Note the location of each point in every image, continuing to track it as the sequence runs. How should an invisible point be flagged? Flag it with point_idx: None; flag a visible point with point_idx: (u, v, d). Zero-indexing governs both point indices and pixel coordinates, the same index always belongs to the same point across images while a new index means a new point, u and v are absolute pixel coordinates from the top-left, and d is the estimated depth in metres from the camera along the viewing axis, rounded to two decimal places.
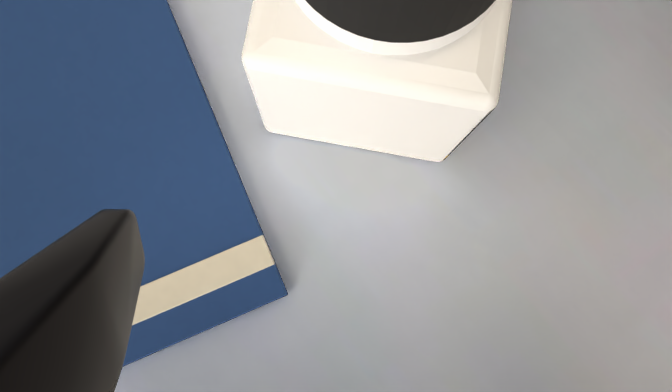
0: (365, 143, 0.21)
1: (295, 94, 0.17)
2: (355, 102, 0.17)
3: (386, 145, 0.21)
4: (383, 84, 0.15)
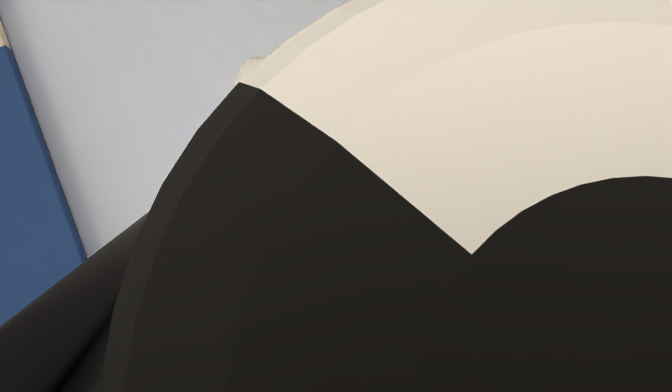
0: None
1: None
2: None
3: None
4: None
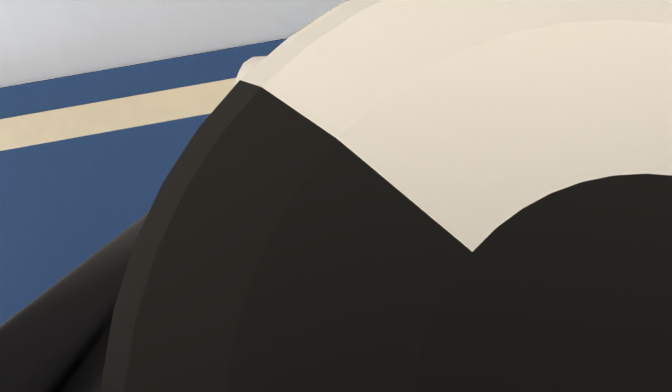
0: None
1: None
2: None
3: None
4: None
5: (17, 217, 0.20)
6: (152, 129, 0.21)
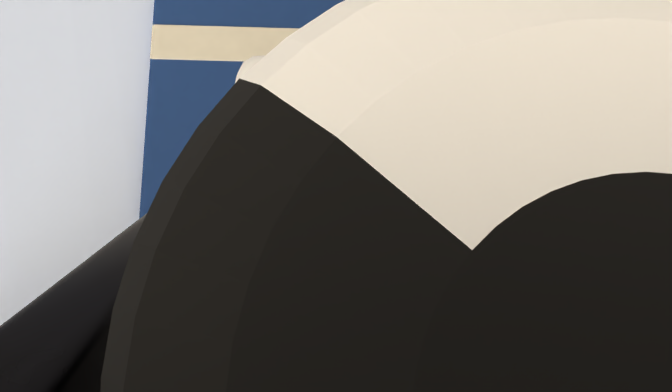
0: None
1: None
2: None
3: None
4: None
5: None
6: None
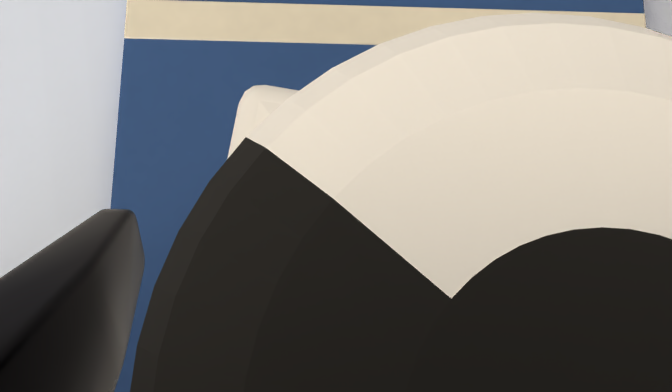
0: None
1: None
2: None
3: None
4: None
5: (217, 127, 0.16)
6: None
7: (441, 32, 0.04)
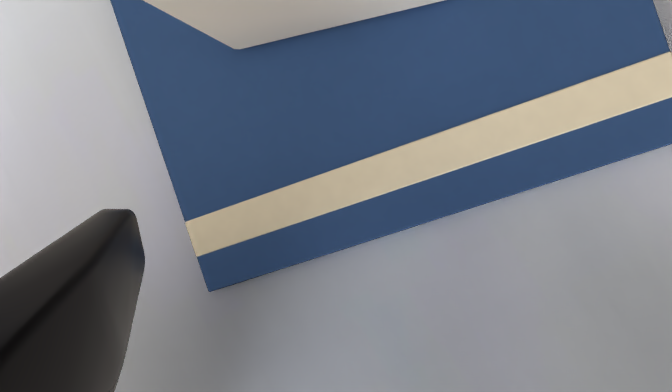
0: (349, 14, 0.16)
1: None
2: None
3: (374, 5, 0.15)
4: None
5: None
6: None
7: None
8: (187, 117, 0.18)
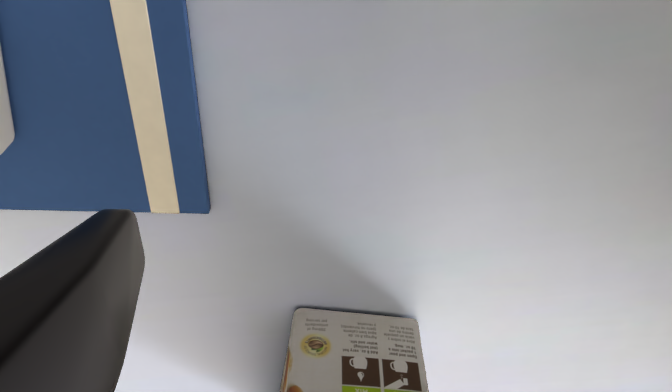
0: None
1: None
2: None
3: None
4: None
5: None
6: None
7: None
8: (68, 186, 0.23)
